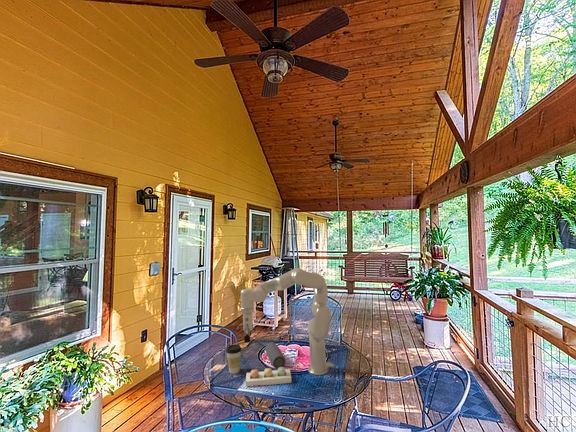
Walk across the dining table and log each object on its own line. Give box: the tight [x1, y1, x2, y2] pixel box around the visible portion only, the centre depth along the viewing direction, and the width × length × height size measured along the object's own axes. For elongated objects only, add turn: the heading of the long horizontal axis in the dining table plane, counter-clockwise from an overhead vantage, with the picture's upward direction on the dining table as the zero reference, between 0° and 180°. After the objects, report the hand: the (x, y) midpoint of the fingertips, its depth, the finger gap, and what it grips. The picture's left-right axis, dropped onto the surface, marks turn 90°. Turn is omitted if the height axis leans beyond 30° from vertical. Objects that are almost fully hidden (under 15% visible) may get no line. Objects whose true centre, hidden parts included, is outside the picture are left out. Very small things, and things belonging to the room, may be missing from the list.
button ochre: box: [263, 367, 273, 377], centre depth 177 cm, size 4×4×3 cm
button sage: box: [277, 366, 286, 376], centre depth 178 cm, size 4×4×3 cm
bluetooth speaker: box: [265, 342, 287, 370], centre depth 198 cm, size 23×9×10 cm, turn 16°
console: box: [245, 368, 292, 387], centre depth 177 cm, size 26×10×3 cm, turn 95°
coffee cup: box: [225, 344, 243, 375], centre depth 190 cm, size 10×10×15 cm
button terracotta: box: [250, 368, 259, 378], centre depth 176 cm, size 4×4×3 cm
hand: (247, 339), depth 179 cm, fingers open, 9 cm apart
